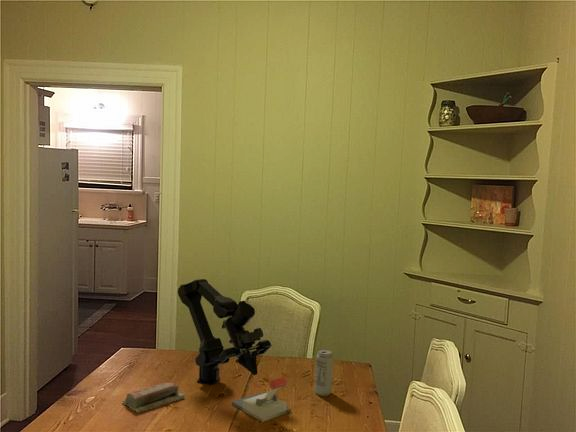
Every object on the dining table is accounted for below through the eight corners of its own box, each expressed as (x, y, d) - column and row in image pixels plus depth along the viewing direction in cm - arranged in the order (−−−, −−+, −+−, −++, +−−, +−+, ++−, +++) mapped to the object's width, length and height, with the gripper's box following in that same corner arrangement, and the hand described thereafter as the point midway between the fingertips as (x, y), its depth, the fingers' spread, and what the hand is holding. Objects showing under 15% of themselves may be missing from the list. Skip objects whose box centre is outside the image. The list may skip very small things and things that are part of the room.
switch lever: (258, 399, 169) (271, 380, 164) (270, 396, 173) (283, 377, 168) (261, 405, 168) (274, 385, 163) (273, 401, 171) (286, 382, 167)
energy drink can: (334, 394, 187) (337, 353, 186) (321, 397, 184) (323, 355, 183) (324, 388, 192) (326, 348, 191) (311, 391, 189) (313, 350, 188)
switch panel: (231, 404, 176) (232, 389, 175) (259, 395, 184) (260, 380, 184) (262, 422, 164) (262, 405, 164) (290, 411, 172) (291, 396, 172)
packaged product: (137, 400, 166) (121, 390, 173) (137, 415, 166) (121, 405, 173) (185, 385, 179) (168, 377, 186) (185, 399, 179) (168, 390, 186)
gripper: (225, 325, 170) (244, 368, 163) (269, 316, 183) (289, 357, 176) (210, 342, 177) (228, 385, 170) (254, 333, 189) (272, 372, 182)
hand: (255, 374), depth 174 cm, fingers closed
